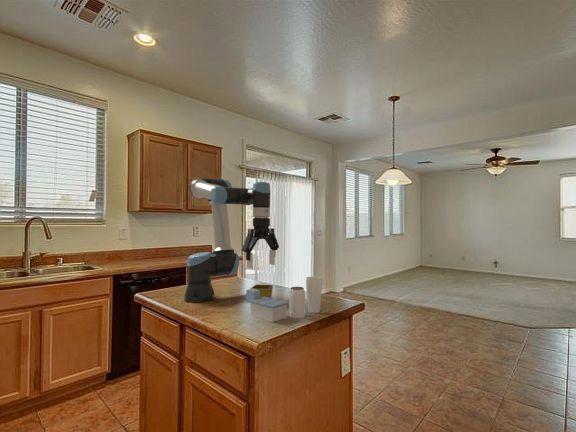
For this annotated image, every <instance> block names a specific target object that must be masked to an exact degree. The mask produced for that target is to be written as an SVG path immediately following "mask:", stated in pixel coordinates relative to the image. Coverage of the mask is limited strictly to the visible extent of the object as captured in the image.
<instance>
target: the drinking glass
mask: <svg viewBox="0 0 576 432" xmlns="http://www.w3.org/2000/svg"><path fill="white" fill-rule="evenodd" d="M322 281H323V280H322V277H321V276H308V277H306V281H305V286H306V287H305V289H306V298H307V312H308V313H313V314H317V313H320V312H321V301H322V291H323V289H322V288H323V287H322V286H323V283H322Z"/></svg>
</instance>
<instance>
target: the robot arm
mask: <svg viewBox="0 0 576 432" xmlns="http://www.w3.org/2000/svg"><path fill="white" fill-rule="evenodd" d="M188 190H189V193H190V195H191V196H192V197H194V198H195V199H201V200H208V202H207V203H208V204H209V205H210V206H211V216H212V217H211V218H212V227H213V230H212V231H213V240H214V241H213V242H214V249H213V250H212V252H208V251H205V252H197V253H194V254H191V255H189V256H188V258H187V265H186V266H187V286H186V289H185V291H184V295H183V301H184V302H186V301H187V302H186V303H203V302H204V303H205V302H210V301H213V300H214V299H215V291H214V288H213V285H212V278H216V277H217V278H218V277H223V276H233V275H235V274H236V273H237V271H238V270H239V267H240V256H239V255H238V253H237V252H235V248H233V247H232V243H231V235H230V221H229V211H228V210H229V209H228V205H242V206H251V205H252V217H253V218H252V226H253V228H248V229H247V234H246V237H245V240H244V242H243V245H242V248H241V251H242V252H244V253H245V261H246V269H253V259H254V257H253V252H252V251H253V249H254V248H255V246H256V245H257V242H258V241H259V240H264V241H265V243H266V244H267V245H268V247H269V254H268V255H269V256H268V257H269V260H268V261H269V262H268V263H269V265H272V266H274V265H275V266H276V263H275V262H276V257H277V256H276V255H277V254H276V251H278V249H280V248H279V247H280V245H279V242H278V240H277V237H276V234H275V228H271V219H270V217H271V184H270V183H269V182H265V181H255V182H253V184H252V188H251V187H250V188H246V187H245V188H244V187H233V186H232V184H231V181H229V180H227V179H224V178H213V177H211V178H210V177H197V178H195V179H193V180H192V181H191V182H190V183H189V185H188Z"/></svg>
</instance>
